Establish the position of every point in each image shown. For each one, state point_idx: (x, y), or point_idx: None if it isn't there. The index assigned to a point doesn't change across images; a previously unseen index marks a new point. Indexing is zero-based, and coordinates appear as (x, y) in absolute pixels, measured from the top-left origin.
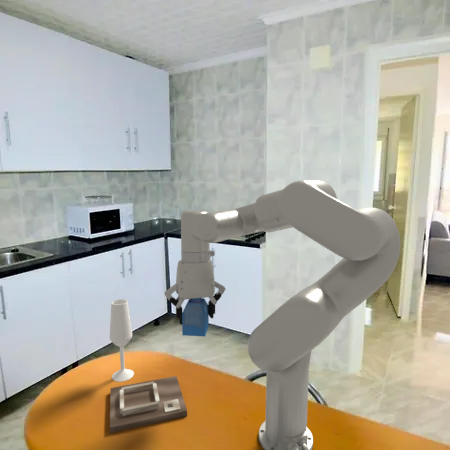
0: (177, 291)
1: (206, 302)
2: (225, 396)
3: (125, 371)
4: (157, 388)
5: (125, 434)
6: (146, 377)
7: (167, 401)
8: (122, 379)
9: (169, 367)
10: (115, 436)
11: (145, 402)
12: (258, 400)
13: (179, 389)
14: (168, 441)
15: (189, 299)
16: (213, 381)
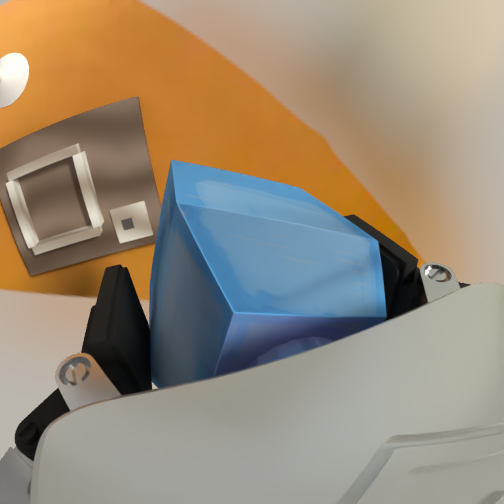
0: (42, 440)
1: (379, 275)
2: (261, 177)
3: (6, 82)
4: (88, 153)
5: (60, 274)
6: (58, 83)
7: (119, 209)
8: (6, 102)
9: (121, 34)
10: (46, 277)
11: (69, 208)
12: (325, 200)
13: (146, 160)
14: (138, 292)
15: (224, 364)
16: (242, 113)
